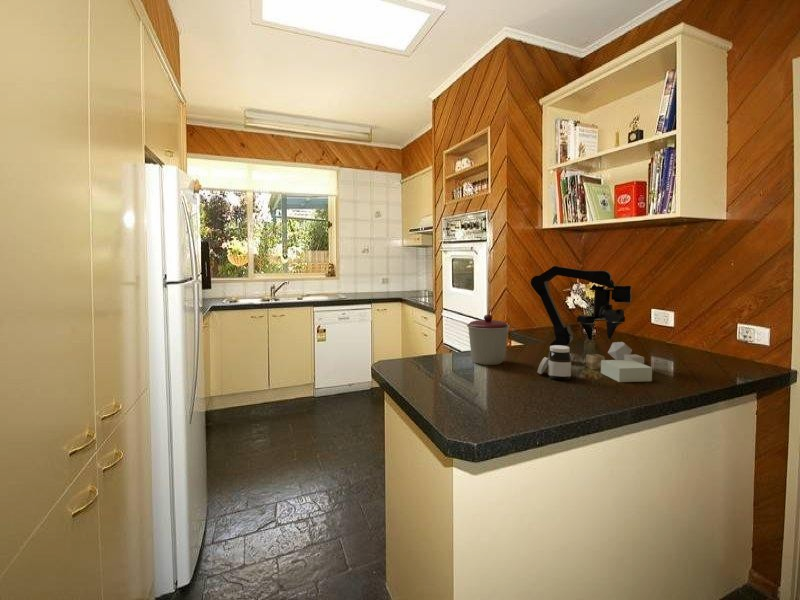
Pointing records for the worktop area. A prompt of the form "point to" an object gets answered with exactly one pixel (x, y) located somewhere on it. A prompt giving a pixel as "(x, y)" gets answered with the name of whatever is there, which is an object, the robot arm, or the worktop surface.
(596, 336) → the worktop surface
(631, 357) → the grey cube
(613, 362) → the sage base block
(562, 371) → the spread jar
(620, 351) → the die
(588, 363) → the oak cube
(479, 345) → the canister
